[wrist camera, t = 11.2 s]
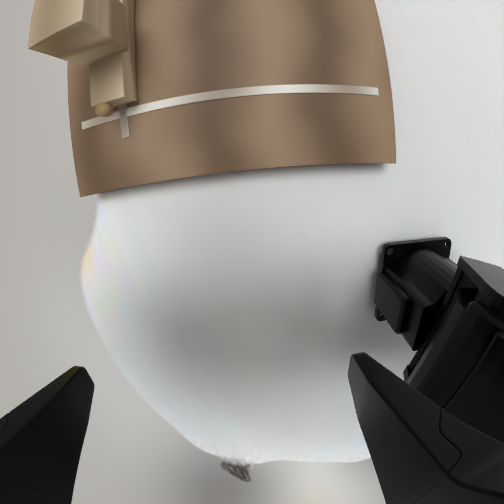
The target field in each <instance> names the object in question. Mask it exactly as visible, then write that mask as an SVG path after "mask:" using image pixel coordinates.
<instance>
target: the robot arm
mask: <svg viewBox="0 0 504 504" xmlns="http://www.w3.org/2000/svg"><path fill="white" fill-rule="evenodd" d="M445 243H446V245H445ZM390 248H391V250H390V252H388V253H387V250H388V249H390ZM450 249H451V240H450V239H449V238H447V237H440V238H431V239H422V240H412V241H403V242H393V243H387V244H385V245H384V246H383V248H382V254H381V265H380V272H379V274H378V276H377V285H376V293H375V301H374V303H375V304H376V308H375V317H376V319H377V320H378V321H384V320H387V322H388V323H389V325H390V326H391V327H392V329H393V330H394V332H395V333H396V334H402V335H403V337H404V338H405V340H406V341H407V343H408V344H409V346H410V347H411V349H412V350H413V351H416V350H418V351H417V352H416V354H415V356H414V357H413V359H412V361H411V362H410V364H409V365H407V367H406V368H405V370H404V371H403V373H404V380H405V381H403V380H402V379H401V378H399V377H398V376H396V375H395V374H394V373H392V372H391V371H389V370H388V369H387V368H385V367H384V366H383V365H381V364H380V363H378V362H377V361H376V360H374V359H373V358H372V357H370V356H369V355H367V354H366V353H364V352H361V353H356V354H352V355H351V358H350V364H349V370H348V379H349V383H350V387H351V391H352V396H353V400H354V405H355V409H356V414H357V418H358V421H359V424H360V427H361V429H362V432H363V435H364V438H365V441H366V444H367V447H368V450H369V452H370V455H371V458H372V461H373V464H374V467H375V470H376V473H377V476H378V479H379V483H380V486H381V489H382V492H383V495H384V498H385V501H386V504H504V269H502V268H501V267H499V266H496V265H492V264H489V263H485V262H482V261H478V260H474V259H471V258H467V257H463V256H460V258H459V260H458V263H457V264H455V263H454V262H453V261H451V260H450V259H449V255H450ZM380 314H382V315H381V316H379V315H380ZM93 393H94V383H93V381H92V379H91V377H90V376H89V374H88V372H87V370H86V369H85V368H84V367H81V366H74V367H72V368H70V369H69V370H68V371H66V372H65V373H63V374H62V375H61V376H59V377H58V378H56V379H55V380H54V381H52V382H51V383H50V384H48V385H47V386H45V387H44V388H42V389H41V390H40V391H38V392H37V393H35V394H34V395H33V396H31V397H30V398H28V399H27V400H26V401H24V402H23V403H22V404H20V405H19V406H17V407H16V408H15V409H13V410H12V411H10V413H8V414H6V415H5V416H4V417H2V418H1V419H0V504H71V501H72V495H73V489H74V484H75V479H76V474H77V468H78V464H79V459H80V455H81V450H82V446H83V442H84V438H85V434H86V430H87V426H88V421H89V416H90V410H91V404H92V398H93Z"/></svg>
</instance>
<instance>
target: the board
mask: <svg viewBox="0 0 504 504" xmlns="http://www.w3.org/2000/svg"><path fill="white" fill-rule="evenodd" d="M134 47H135V71H136V87H137V100H138V101H135V102H131V103H128V104H124V105H120V106H117V107H113V108H114V110H113V113H112V115H111V116H109V117H103V116H97V115H96V113H95V108H96V107H91V95H90V65H86V66H84V67H83V66H80V65H78V64H75V63H72V62H69V61H68V104H69V117H70V130H71V139H72V148H73V156H74V163H75V169H76V175H77V181H78V187H79V192H80V197H84V196H88V195H93V194H97V193H102V192H106V191H111V190H116V189H121V188H126V187H131V186H137V185H142V184H148V183H154V182H160V181H166V180H172V179H178V178H185V177H192V176H199V175H207V174H215V173H223V172H232V171H241V170H251V169H262V168H274V167H287V166H303V165H323V164H355V163H396V145H395V126H394V113H393V102H392V93H391V84H390V77H389V70H388V63H387V57H386V51H385V46H384V41H383V36H382V31H381V26H380V22H379V17H378V13H377V9H376V5H375V2H374V0H135V1H134Z"/></svg>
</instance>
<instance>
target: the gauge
mask: <svg viewBox="0 0 504 504" xmlns="http://www.w3.org/2000/svg"><path fill="white" fill-rule="evenodd" d="M134 1H135V0H35V3H34V8H33V14H32V19H31V26H30V34H29V42H28V49H31V50H34V51H38V52H41V53H44V54H48V55H51V56H54V57H57V58H60V59H63V60H66V61H69V62H72V63H75V64H78V65H80V66H83V67H84V66H86V65H90V95H91V107H96V108H95V113H96V115H97V116H103V117H109V116H111V115H112V113H113V110H114V108H113V107H117V106H120V105H124V104H128V103H131V102H135V101H138V100H137V87H136V71H135V47H134Z"/></svg>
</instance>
